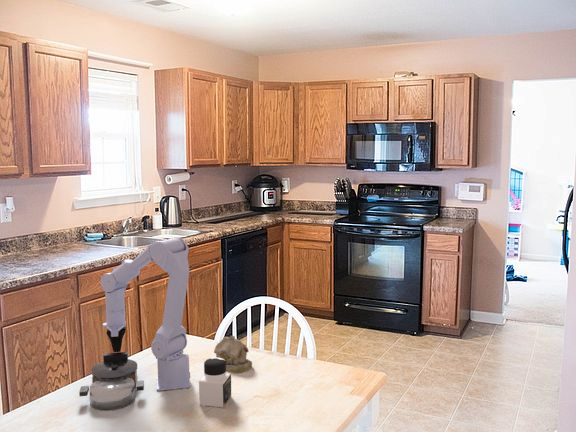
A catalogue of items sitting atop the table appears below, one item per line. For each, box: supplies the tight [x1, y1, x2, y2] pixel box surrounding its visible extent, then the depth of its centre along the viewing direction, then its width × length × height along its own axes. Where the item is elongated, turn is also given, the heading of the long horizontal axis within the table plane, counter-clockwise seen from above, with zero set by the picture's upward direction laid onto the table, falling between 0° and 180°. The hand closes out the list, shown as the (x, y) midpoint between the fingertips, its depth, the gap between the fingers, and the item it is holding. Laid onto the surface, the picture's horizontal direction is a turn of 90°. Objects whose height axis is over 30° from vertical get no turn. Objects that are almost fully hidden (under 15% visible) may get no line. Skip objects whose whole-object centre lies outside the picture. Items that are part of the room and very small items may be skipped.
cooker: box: [78, 360, 145, 412], centre depth 160 cm, size 17×22×4 cm
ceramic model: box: [213, 335, 253, 374], centre depth 180 cm, size 14×11×10 cm
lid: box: [90, 351, 138, 379], centre depth 164 cm, size 13×13×3 cm
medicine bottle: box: [198, 356, 232, 408], centre depth 154 cm, size 7×7×12 cm
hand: (117, 351), depth 175 cm, fingers closed
